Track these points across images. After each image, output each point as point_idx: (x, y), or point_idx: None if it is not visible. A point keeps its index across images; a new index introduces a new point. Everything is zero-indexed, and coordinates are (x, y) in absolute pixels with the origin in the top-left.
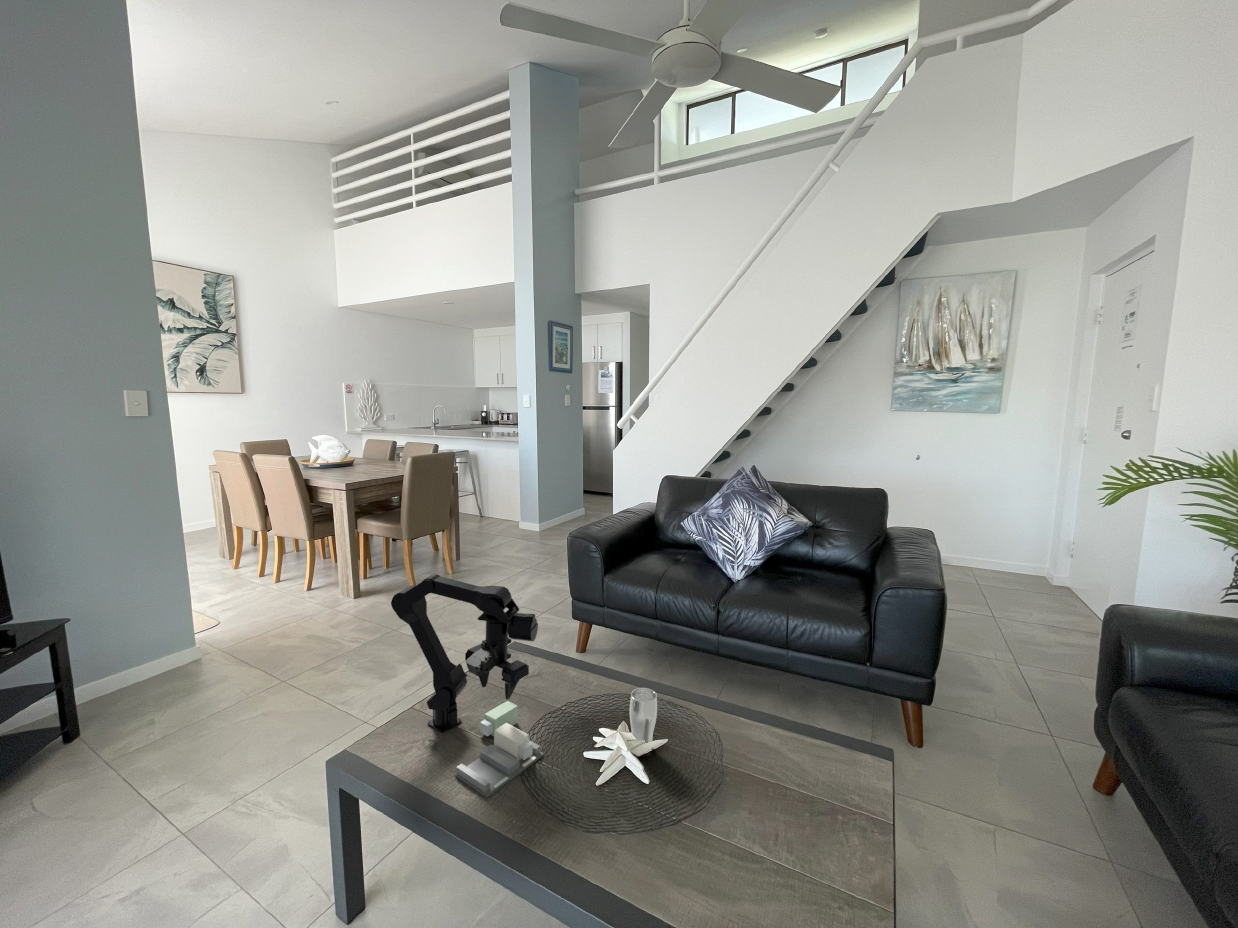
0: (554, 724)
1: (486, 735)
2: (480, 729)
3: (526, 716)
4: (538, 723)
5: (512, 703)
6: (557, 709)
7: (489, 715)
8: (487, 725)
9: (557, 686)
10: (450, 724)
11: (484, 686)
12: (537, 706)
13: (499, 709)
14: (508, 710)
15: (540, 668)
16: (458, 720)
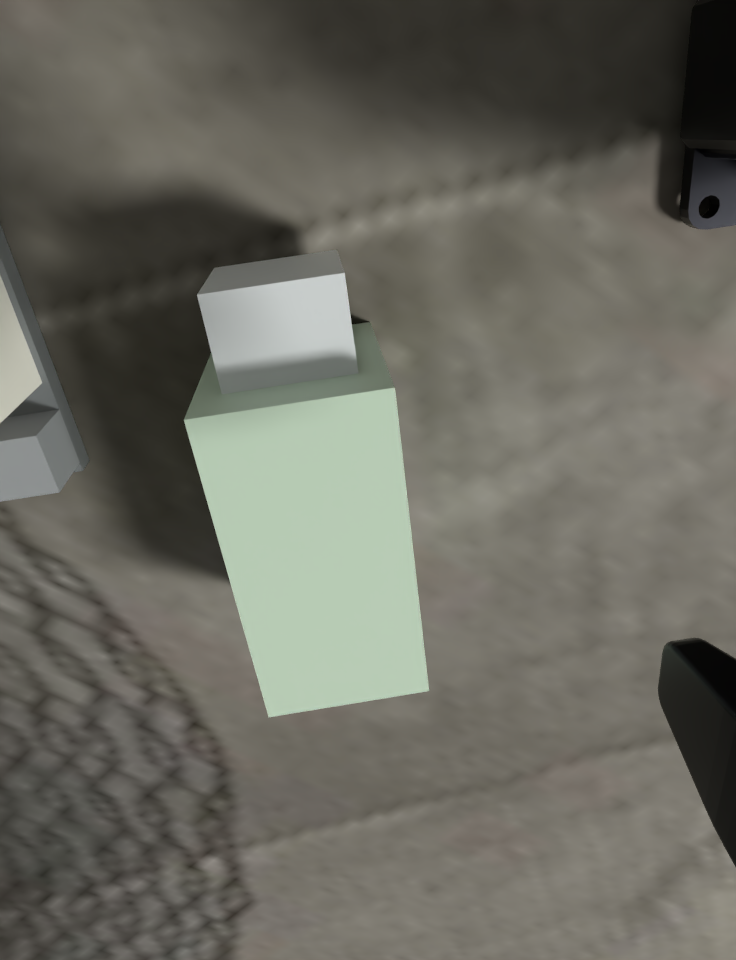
0: (68, 757)
1: (226, 266)
2: (332, 256)
3: None
4: (153, 692)
5: (343, 700)
6: (223, 837)
7: (317, 414)
8: (212, 305)
9: (445, 926)
10: (711, 17)
11: (666, 671)
12: (351, 773)
13: (343, 561)
14: (254, 619)
15: (683, 938)
16: (715, 193)
